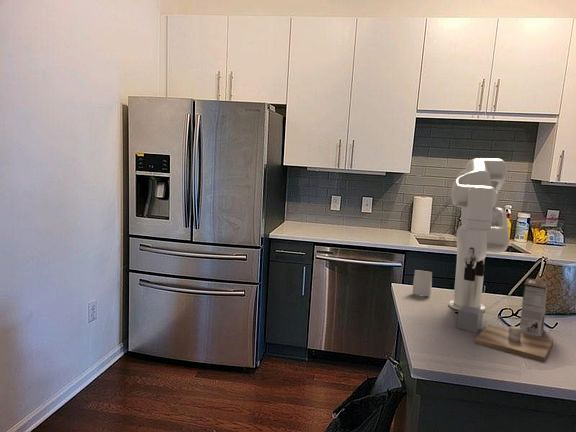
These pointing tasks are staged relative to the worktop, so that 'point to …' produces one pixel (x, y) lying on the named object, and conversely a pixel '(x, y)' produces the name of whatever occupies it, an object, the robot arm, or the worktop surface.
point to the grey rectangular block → (422, 283)
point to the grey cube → (470, 318)
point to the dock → (515, 342)
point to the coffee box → (533, 307)
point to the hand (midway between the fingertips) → (473, 278)
